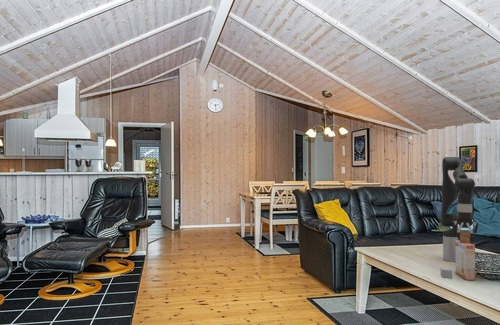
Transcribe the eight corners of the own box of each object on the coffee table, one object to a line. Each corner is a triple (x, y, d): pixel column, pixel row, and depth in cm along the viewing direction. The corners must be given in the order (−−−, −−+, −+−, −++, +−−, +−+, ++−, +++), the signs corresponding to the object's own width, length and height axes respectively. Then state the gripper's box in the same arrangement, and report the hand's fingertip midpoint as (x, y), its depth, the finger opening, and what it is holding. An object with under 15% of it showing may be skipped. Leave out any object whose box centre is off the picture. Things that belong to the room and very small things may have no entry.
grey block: (440, 275, 218) (440, 267, 218) (449, 276, 217) (449, 268, 217) (442, 278, 213) (442, 269, 213) (452, 278, 212) (452, 270, 212)
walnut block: (460, 241, 219) (459, 229, 219) (469, 241, 217) (469, 230, 217) (460, 242, 215) (459, 230, 215) (469, 243, 212) (469, 231, 212)
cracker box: (475, 280, 208) (475, 244, 208) (464, 280, 209) (464, 244, 209) (465, 273, 222) (465, 240, 222) (455, 273, 223) (454, 239, 223)
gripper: (478, 211, 216) (478, 239, 215) (451, 209, 223) (451, 236, 222) (479, 212, 209) (479, 241, 209) (451, 211, 216) (451, 238, 216)
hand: (465, 238), depth 216 cm, fingers open, 5 cm apart
